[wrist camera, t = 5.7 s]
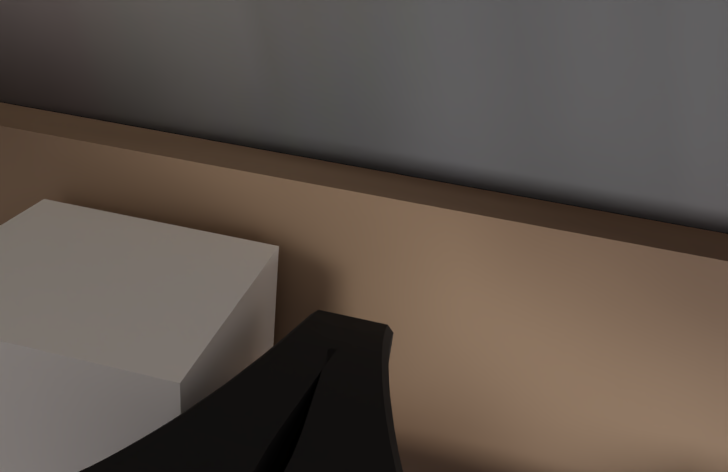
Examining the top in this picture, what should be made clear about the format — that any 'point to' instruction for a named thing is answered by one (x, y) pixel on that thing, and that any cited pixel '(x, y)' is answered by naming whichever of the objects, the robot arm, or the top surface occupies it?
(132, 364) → the sleeve
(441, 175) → the top surface
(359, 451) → the robot arm
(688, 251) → the guide board
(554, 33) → the top surface
